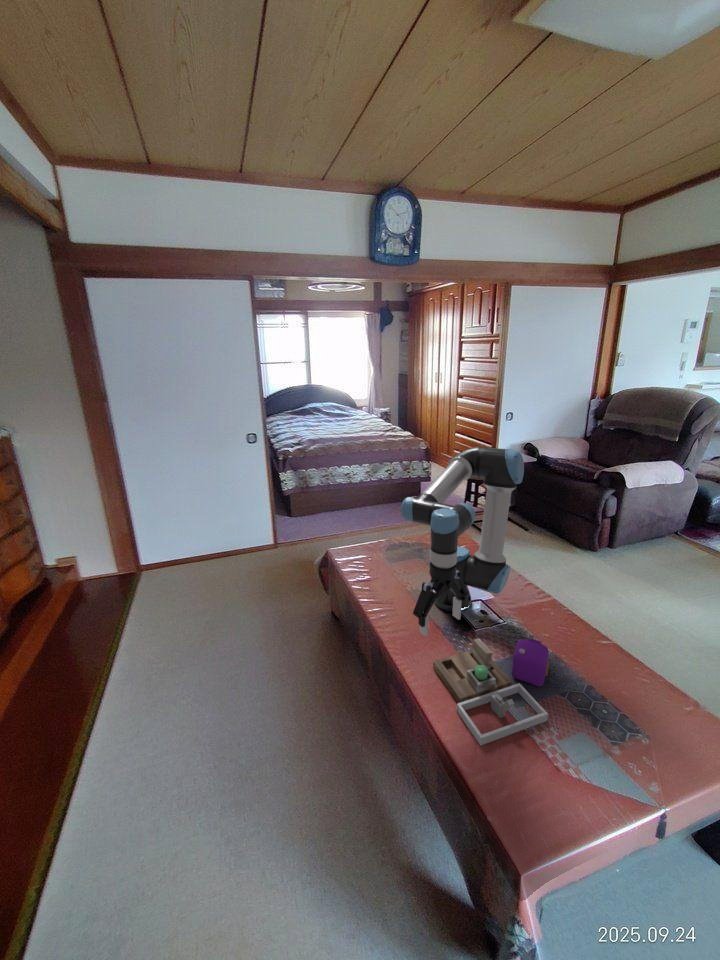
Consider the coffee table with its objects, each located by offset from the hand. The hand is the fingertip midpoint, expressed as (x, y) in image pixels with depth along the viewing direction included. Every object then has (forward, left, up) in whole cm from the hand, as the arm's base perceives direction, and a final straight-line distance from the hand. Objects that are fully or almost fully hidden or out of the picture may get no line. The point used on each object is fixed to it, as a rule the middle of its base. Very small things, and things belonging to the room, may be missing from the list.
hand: (440, 625), depth 122 cm
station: (-10, +3, -20) cm, 22 cm away
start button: (-10, +8, -16) cm, 20 cm away
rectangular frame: (-10, +18, -20) cm, 29 cm away
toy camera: (-29, +7, -20) cm, 36 cm away
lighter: (-10, +18, -20) cm, 29 cm away
